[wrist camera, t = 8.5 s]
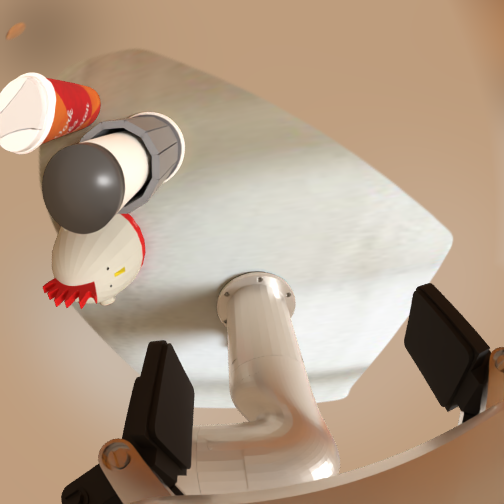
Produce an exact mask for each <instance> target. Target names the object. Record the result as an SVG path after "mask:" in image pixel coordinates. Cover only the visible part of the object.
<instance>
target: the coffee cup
mask: <svg viewBox="0 0 504 504" xmlns="http://www.w3.org/2000/svg"><path fill="white" fill-rule="evenodd" d="M100 105H101V103H100V98H99V95H98V94H97V92H96V91H95V90H94V89H92V88H90V87H87V86H83V85H79V84H75V83H70V82H65V81H60V80H55V79H49V78H45V77H44V76H42V75H41V74H38V73H26V74H24V75H21V76H20V77H18V78H16V79H15V80H13V81H12V82H10V83H9V84H8V85H7V86H6V87H5V88H4V89H3V91H2V92H1V93H0V145H1V147H2V148H4V149H5V150H7V151H9V152H13V153H15V154H27V153H30V152H32V151H34V150H35V149H36V148H38V147H39V146H40V145H41V144H43V143H46V142H48V141H51V140H53V139H56V138H59V137H61V136H64V135H67V134H69V133H72V132H75V131H78V130H80V129H83V128H85V127H87V126H89V125H90V124H92V123H93V122H94V121H95V119H96V118H97V116H98V114H99V111H100Z"/></svg>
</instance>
